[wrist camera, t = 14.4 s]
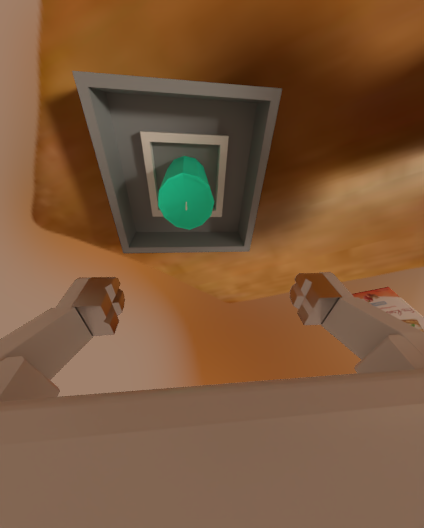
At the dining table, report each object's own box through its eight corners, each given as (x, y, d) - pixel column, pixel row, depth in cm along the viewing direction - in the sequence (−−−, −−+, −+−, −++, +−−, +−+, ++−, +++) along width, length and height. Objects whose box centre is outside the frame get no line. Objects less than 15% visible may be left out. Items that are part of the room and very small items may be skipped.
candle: (207, 197, 30) (216, 233, 21) (170, 200, 30) (161, 238, 21) (205, 154, 27) (215, 174, 17) (162, 157, 26) (148, 179, 17)
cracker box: (388, 284, 50) (485, 366, 34) (380, 299, 54) (464, 379, 38) (335, 295, 51) (405, 381, 34) (330, 309, 55) (392, 392, 38)
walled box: (263, 93, 24) (282, 88, 19) (241, 233, 36) (249, 251, 32) (96, 80, 22) (72, 70, 17) (132, 234, 34) (123, 253, 29)
